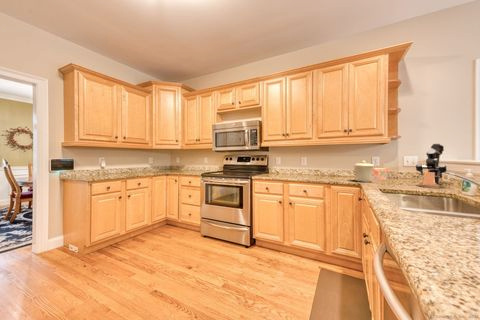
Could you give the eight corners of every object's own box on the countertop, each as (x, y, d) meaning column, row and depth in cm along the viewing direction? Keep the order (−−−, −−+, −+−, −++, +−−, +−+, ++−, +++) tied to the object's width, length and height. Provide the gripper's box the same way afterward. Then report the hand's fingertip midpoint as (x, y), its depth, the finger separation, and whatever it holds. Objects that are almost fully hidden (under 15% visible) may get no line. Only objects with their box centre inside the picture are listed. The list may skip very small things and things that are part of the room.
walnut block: (421, 186, 180) (421, 182, 180) (440, 188, 171) (440, 184, 171) (418, 187, 173) (418, 184, 173) (437, 189, 163) (437, 185, 163)
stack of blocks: (364, 179, 223) (365, 168, 223) (362, 179, 229) (363, 168, 229) (387, 180, 218) (387, 168, 218) (384, 179, 224) (384, 168, 224)
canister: (378, 182, 199) (378, 160, 198) (359, 182, 199) (359, 160, 198) (367, 180, 217) (367, 160, 216) (349, 180, 217) (350, 160, 216)
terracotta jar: (424, 183, 176) (424, 171, 176) (436, 184, 171) (436, 172, 170) (422, 184, 172) (422, 172, 172) (434, 185, 166) (434, 172, 166)
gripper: (416, 155, 181) (413, 168, 174) (446, 155, 166) (444, 169, 160) (418, 164, 186) (415, 177, 179) (447, 164, 172) (445, 179, 165)
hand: (429, 175), depth 171 cm, fingers open, 9 cm apart
